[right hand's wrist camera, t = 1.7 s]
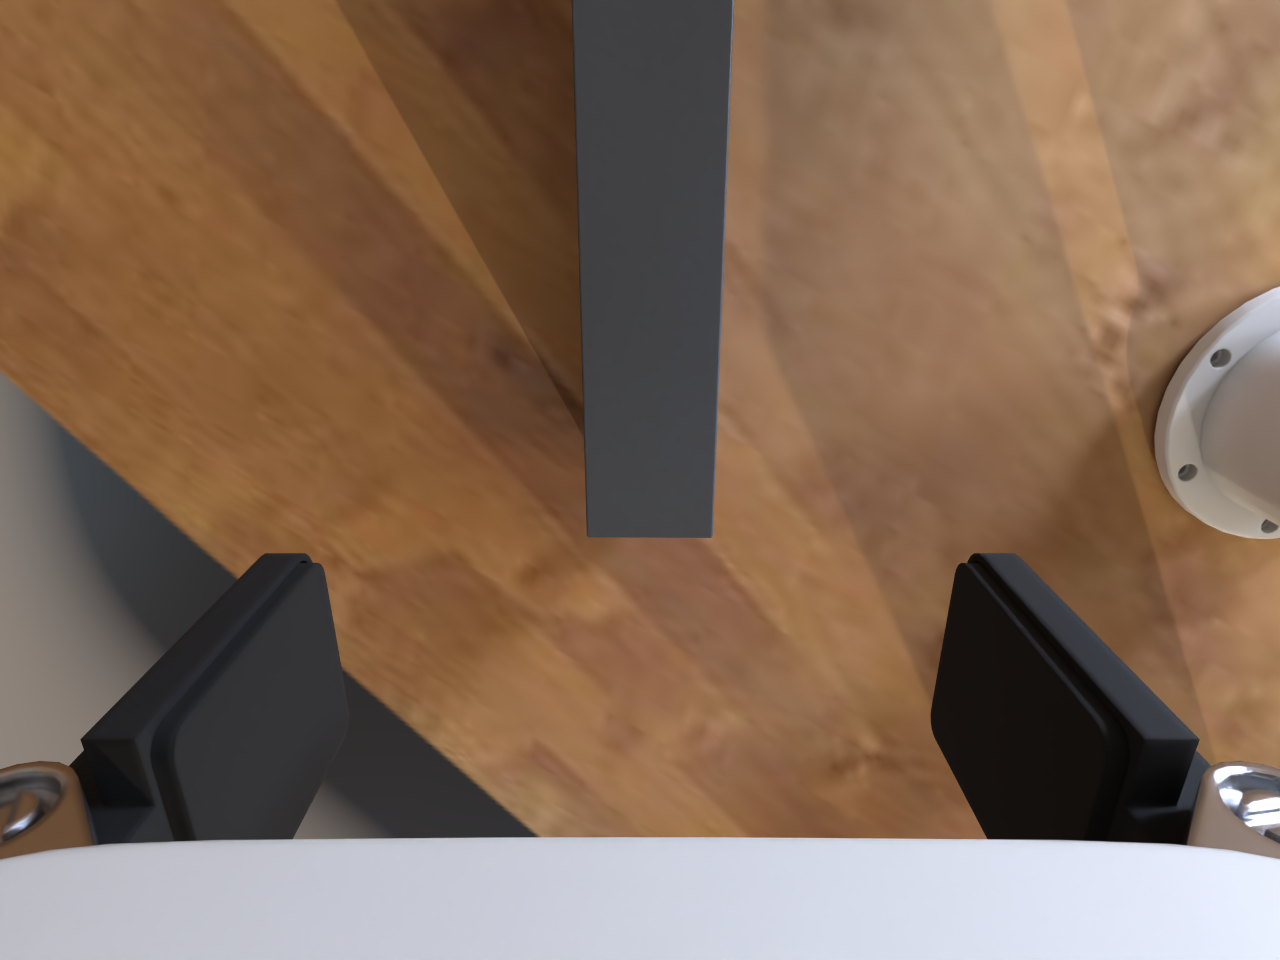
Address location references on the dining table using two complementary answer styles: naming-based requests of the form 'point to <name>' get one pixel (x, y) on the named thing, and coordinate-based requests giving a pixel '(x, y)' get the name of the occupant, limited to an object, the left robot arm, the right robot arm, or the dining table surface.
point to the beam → (651, 257)
